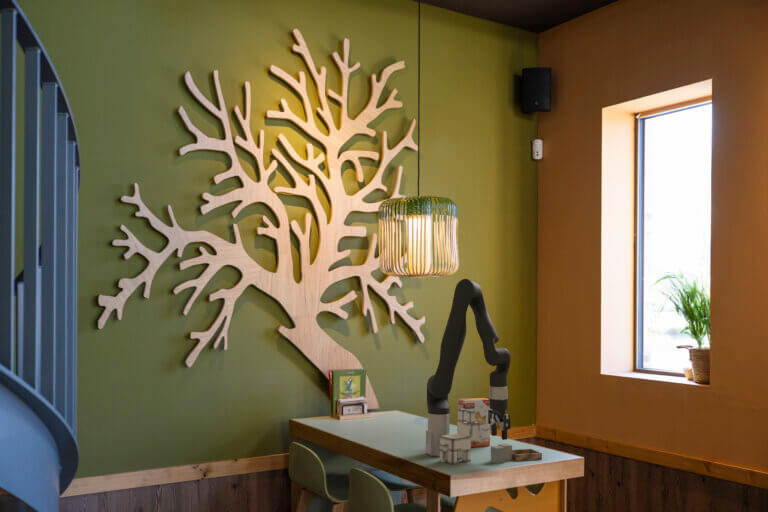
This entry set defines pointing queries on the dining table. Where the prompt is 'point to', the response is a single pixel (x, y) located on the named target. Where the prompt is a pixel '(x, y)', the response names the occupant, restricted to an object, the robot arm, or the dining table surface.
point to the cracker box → (478, 417)
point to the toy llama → (460, 439)
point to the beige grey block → (507, 451)
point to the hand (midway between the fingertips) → (499, 437)
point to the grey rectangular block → (497, 454)
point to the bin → (526, 454)
